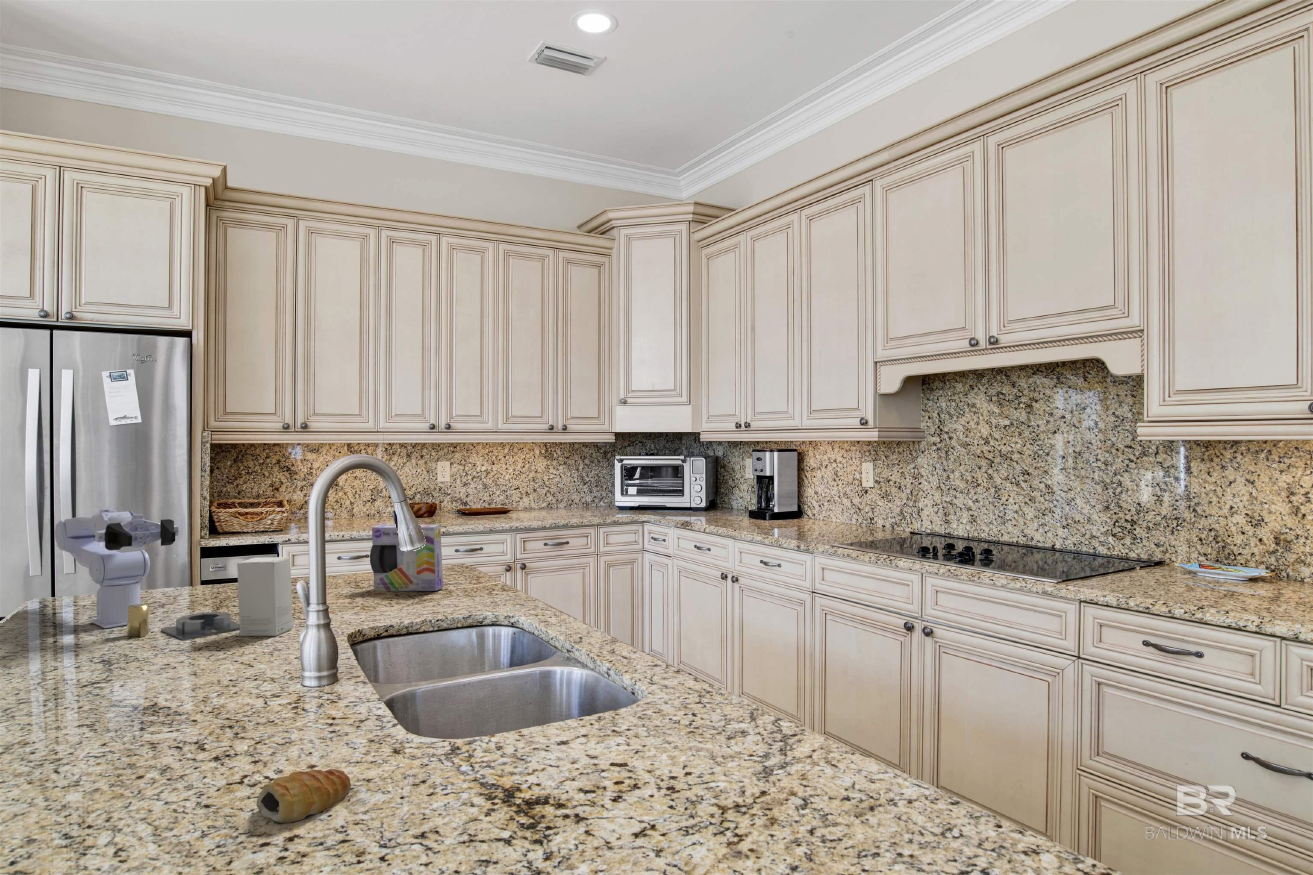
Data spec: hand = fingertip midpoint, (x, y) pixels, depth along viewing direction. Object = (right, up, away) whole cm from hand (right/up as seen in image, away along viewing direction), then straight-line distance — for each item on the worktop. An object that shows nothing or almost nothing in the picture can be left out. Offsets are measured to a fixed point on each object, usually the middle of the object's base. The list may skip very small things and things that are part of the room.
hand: (152, 538), depth 152 cm
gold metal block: (-5, -20, +2) cm, 21 cm away
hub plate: (+7, -20, +6) cm, 22 cm away
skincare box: (+21, -21, +4) cm, 30 cm away
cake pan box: (+36, -21, +48) cm, 64 cm away
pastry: (+64, -21, -69) cm, 97 cm away
